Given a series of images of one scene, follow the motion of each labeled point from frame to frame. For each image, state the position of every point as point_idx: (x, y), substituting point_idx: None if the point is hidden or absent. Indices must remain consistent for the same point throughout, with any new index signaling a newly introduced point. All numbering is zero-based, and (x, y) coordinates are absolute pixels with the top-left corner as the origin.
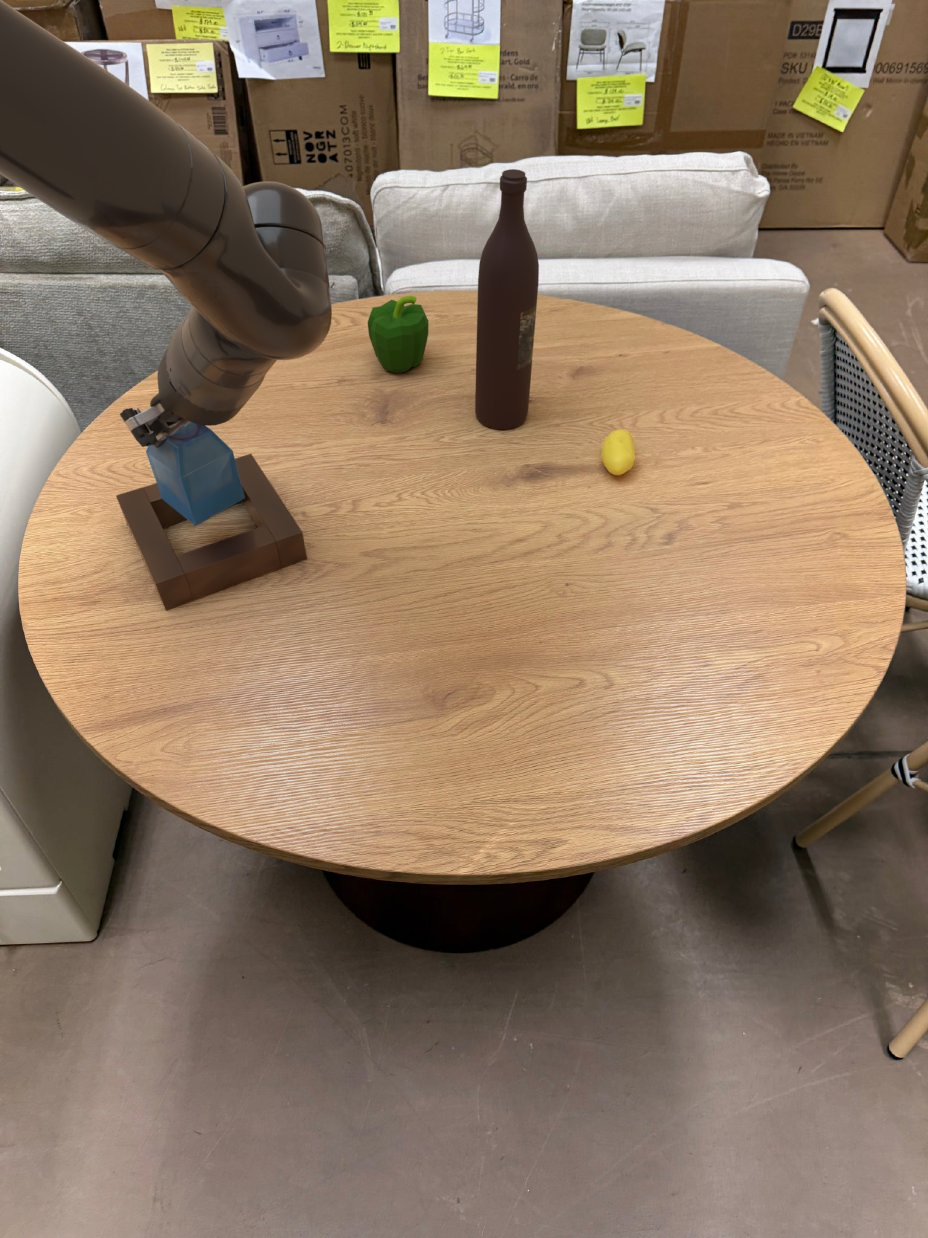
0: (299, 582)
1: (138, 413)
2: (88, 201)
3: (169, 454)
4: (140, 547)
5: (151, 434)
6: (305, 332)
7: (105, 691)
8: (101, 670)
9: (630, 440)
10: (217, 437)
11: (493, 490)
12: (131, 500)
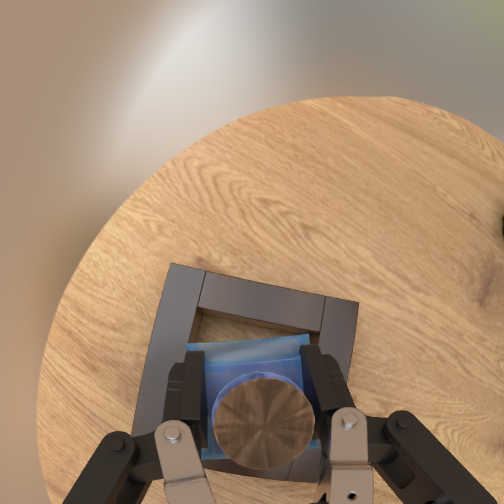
0: (281, 491)
1: None
2: None
3: None
4: (142, 380)
5: (149, 480)
6: None
7: (63, 466)
8: (67, 446)
9: None
10: (308, 446)
11: (485, 453)
12: (179, 286)
